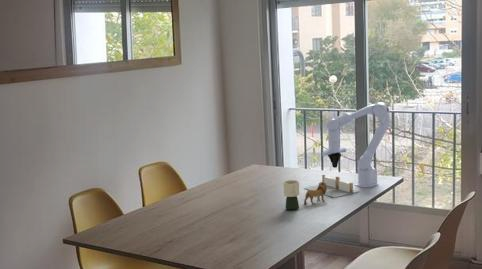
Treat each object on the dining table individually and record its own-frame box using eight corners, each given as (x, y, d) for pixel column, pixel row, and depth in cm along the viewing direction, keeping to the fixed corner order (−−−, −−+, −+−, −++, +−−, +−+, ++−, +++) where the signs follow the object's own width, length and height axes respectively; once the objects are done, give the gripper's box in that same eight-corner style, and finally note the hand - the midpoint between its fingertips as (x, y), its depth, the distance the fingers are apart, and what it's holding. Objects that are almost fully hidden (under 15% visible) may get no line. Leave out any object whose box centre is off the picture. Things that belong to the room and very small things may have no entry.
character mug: (304, 211, 276) (303, 183, 274) (290, 213, 274) (288, 185, 271) (294, 205, 286) (293, 178, 284) (280, 207, 284) (279, 180, 282)
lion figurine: (321, 198, 295) (321, 180, 294) (330, 200, 291) (329, 181, 290) (300, 205, 286) (300, 186, 284) (309, 207, 282) (308, 188, 280)
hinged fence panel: (337, 187, 311) (337, 177, 310) (335, 187, 310) (334, 178, 310) (324, 183, 320) (323, 174, 320) (321, 183, 320) (321, 174, 319)
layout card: (328, 183, 322) (328, 182, 322) (359, 192, 302) (359, 191, 302) (304, 188, 314) (304, 188, 314) (334, 198, 294) (334, 197, 294)
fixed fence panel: (335, 188, 310) (334, 177, 309) (338, 187, 311) (337, 176, 310) (350, 193, 300) (350, 181, 299) (354, 192, 301) (353, 180, 300)
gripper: (339, 139, 322) (340, 163, 325) (318, 142, 315) (319, 168, 317) (348, 140, 316) (349, 166, 319) (326, 144, 309) (327, 170, 311)
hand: (334, 167), depth 318 cm, fingers closed
